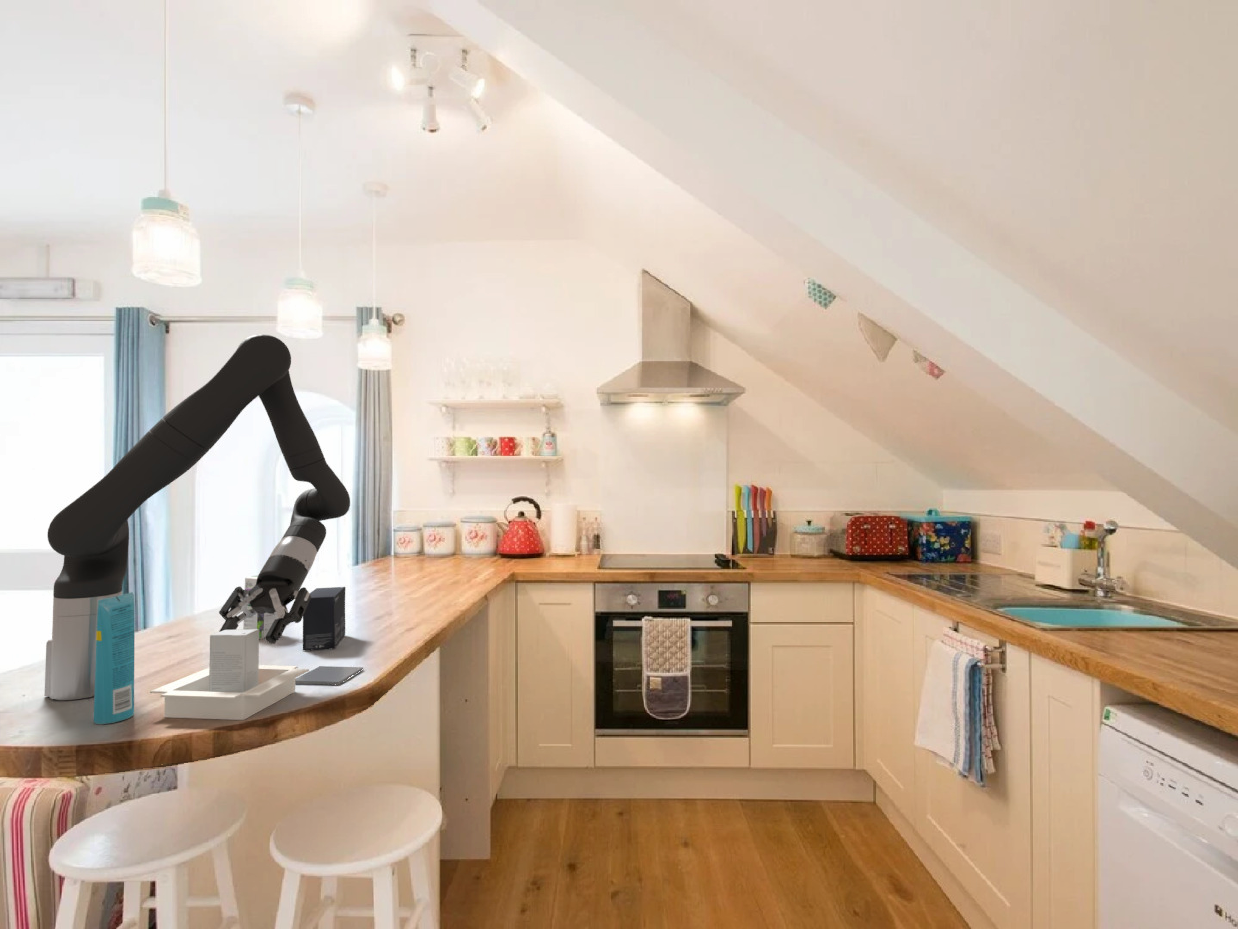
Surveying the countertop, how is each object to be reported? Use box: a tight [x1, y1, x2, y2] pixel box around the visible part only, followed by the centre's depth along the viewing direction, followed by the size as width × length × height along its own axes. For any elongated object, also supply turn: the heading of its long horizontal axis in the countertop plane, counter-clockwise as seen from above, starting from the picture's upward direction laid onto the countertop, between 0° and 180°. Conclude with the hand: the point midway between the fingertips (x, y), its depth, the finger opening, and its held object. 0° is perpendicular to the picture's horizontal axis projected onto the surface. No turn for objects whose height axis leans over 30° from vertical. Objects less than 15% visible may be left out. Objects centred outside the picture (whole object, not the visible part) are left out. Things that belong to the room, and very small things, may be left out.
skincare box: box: [208, 629, 260, 693], centre depth 102 cm, size 6×4×12 cm
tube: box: [93, 591, 136, 725], centre depth 95 cm, size 7×5×19 cm, turn 11°
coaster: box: [295, 665, 364, 686], centre depth 116 cm, size 9×9×1 cm
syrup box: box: [242, 574, 278, 640], centre depth 148 cm, size 6×6×14 cm
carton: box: [149, 664, 310, 721], centre depth 102 cm, size 18×16×4 cm
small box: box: [302, 586, 346, 651], centre depth 141 cm, size 13×7×12 cm, turn 15°
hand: (246, 640), depth 105 cm, fingers open, 8 cm apart
